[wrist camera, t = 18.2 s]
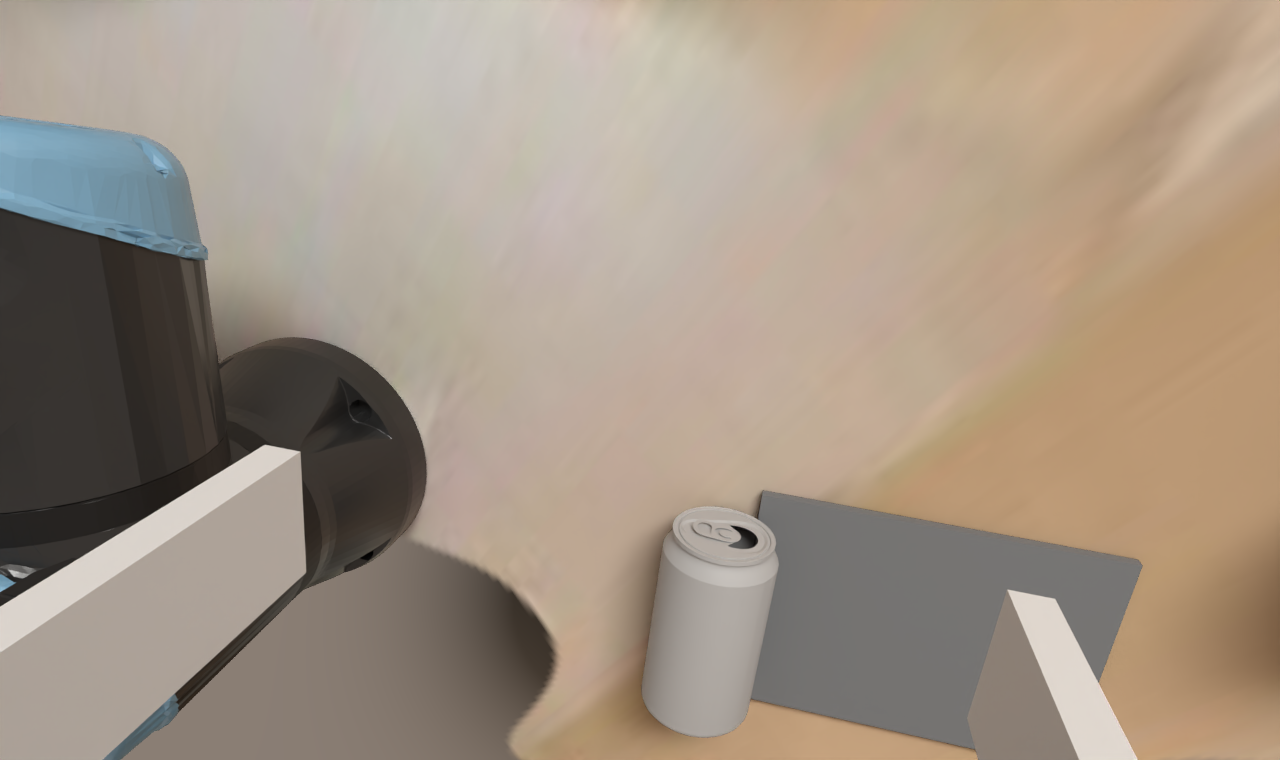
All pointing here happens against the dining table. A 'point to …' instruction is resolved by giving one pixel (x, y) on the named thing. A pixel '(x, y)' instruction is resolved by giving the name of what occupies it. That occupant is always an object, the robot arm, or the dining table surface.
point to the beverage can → (708, 620)
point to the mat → (911, 612)
